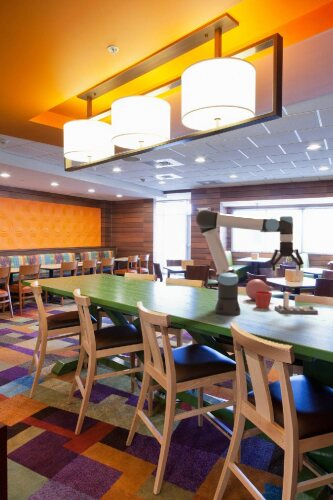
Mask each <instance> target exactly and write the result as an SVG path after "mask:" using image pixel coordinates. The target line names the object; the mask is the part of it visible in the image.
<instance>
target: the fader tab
mask: <svg viewBox="0 0 333 500" xmlns="http://www.w3.org/2000/svg"><path fill="white" fill-rule="evenodd" d="M282 298H283V305H282V306H283V308H286V307H289V306H290V292H288V291H283V297H282Z"/></svg>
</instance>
